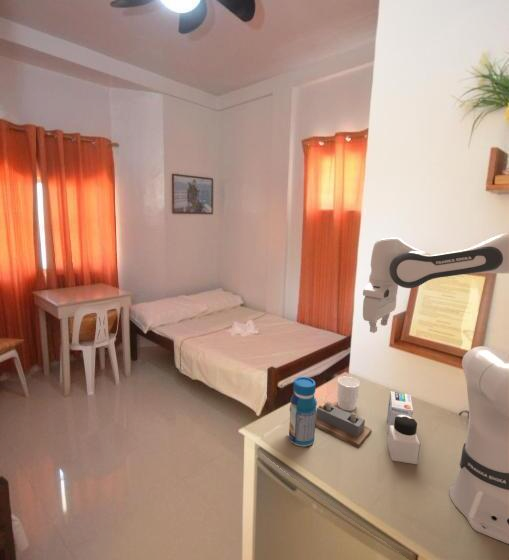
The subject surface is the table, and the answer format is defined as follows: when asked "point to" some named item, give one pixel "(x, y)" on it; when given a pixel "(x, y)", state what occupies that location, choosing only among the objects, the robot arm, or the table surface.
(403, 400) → the light bulb box
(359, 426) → the grey block with holes
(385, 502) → the table surface
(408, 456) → the medicine bottle
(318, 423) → the board
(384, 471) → the table surface
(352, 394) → the white cup
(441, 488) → the table surface
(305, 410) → the beverage bottle
